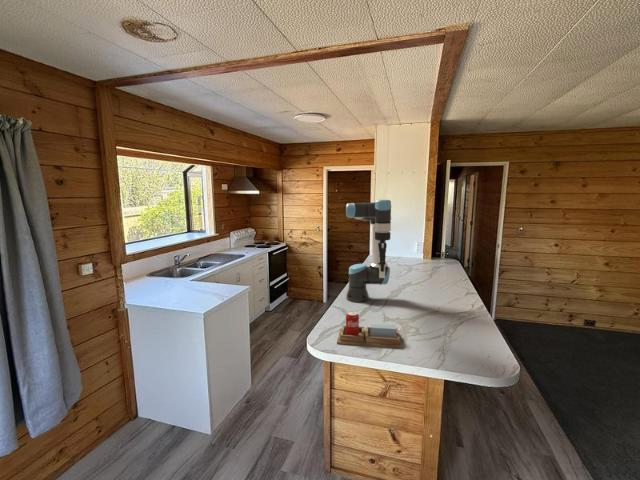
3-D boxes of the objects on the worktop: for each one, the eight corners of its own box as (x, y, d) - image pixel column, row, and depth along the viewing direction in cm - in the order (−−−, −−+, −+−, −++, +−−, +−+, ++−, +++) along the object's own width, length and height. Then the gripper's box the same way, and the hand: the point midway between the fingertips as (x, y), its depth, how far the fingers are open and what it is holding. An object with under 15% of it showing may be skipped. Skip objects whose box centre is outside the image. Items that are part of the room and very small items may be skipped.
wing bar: (370, 335, 157) (370, 323, 156) (395, 336, 155) (395, 325, 154) (370, 338, 153) (370, 327, 152) (395, 340, 151) (395, 329, 150)
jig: (340, 330, 165) (340, 324, 164) (398, 334, 160) (399, 327, 159) (336, 343, 152) (336, 336, 151) (400, 348, 146) (401, 341, 146)
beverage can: (349, 339, 153) (349, 316, 151) (343, 334, 159) (343, 311, 157) (361, 337, 155) (361, 314, 153) (354, 331, 161) (354, 309, 159)
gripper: (375, 228, 165) (374, 267, 169) (374, 235, 141) (374, 280, 145) (389, 228, 164) (388, 267, 168) (391, 235, 140) (390, 281, 143)
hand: (381, 273), depth 156 cm, fingers open, 13 cm apart
